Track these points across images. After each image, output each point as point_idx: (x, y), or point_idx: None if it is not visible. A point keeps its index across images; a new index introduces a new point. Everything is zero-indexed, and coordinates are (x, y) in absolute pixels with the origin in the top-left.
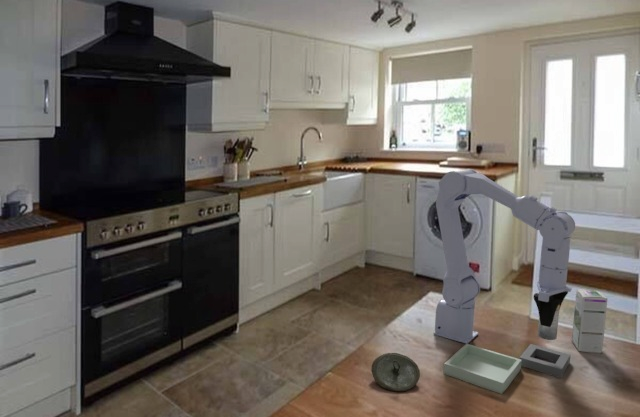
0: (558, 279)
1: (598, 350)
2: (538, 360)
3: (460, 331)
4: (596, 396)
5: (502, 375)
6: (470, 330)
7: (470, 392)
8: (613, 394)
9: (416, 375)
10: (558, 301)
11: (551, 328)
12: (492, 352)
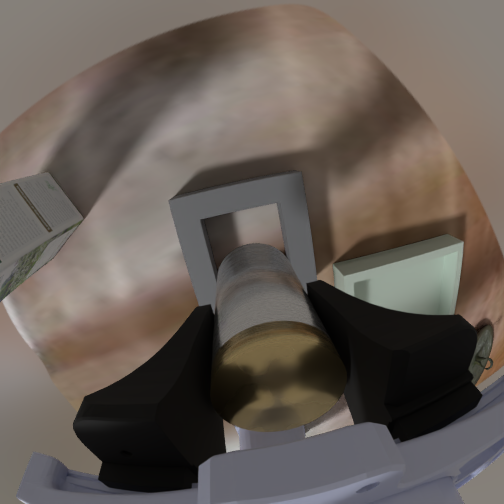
0: None
1: (50, 179)
2: (296, 247)
3: None
4: (316, 70)
5: (397, 272)
6: None
7: (464, 273)
8: (269, 43)
9: (477, 341)
10: (466, 336)
11: (295, 275)
12: None
